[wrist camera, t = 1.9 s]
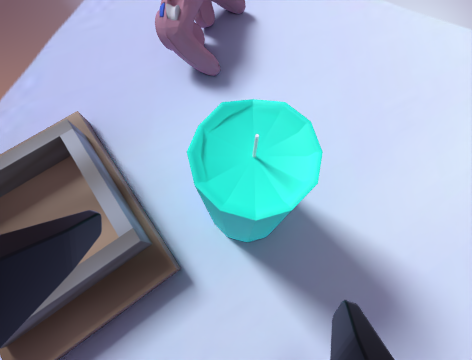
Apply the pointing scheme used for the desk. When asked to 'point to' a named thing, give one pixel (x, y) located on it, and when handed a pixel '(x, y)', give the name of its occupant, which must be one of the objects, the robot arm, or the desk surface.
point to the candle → (253, 165)
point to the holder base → (103, 250)
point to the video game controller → (191, 29)
